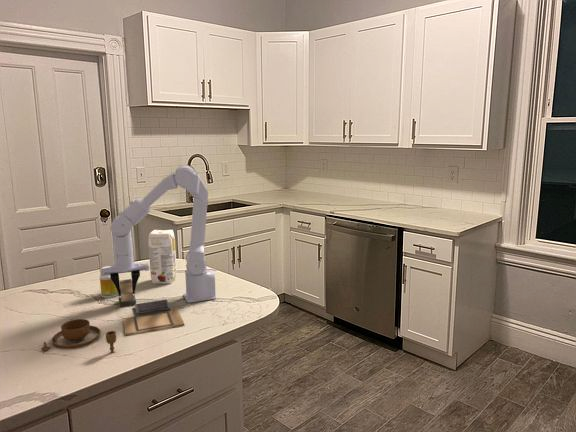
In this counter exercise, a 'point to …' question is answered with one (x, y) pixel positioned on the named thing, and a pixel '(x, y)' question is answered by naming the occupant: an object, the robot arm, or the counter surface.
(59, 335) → the place setting
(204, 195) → the robot arm
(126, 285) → the stamp
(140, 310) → the ink pad
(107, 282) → the supplement bottle
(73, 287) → the counter surface
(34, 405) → the counter surface
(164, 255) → the juice carton
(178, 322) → the marked board
